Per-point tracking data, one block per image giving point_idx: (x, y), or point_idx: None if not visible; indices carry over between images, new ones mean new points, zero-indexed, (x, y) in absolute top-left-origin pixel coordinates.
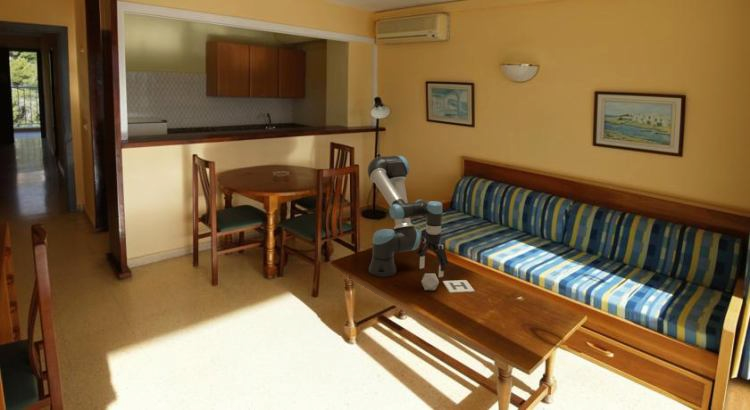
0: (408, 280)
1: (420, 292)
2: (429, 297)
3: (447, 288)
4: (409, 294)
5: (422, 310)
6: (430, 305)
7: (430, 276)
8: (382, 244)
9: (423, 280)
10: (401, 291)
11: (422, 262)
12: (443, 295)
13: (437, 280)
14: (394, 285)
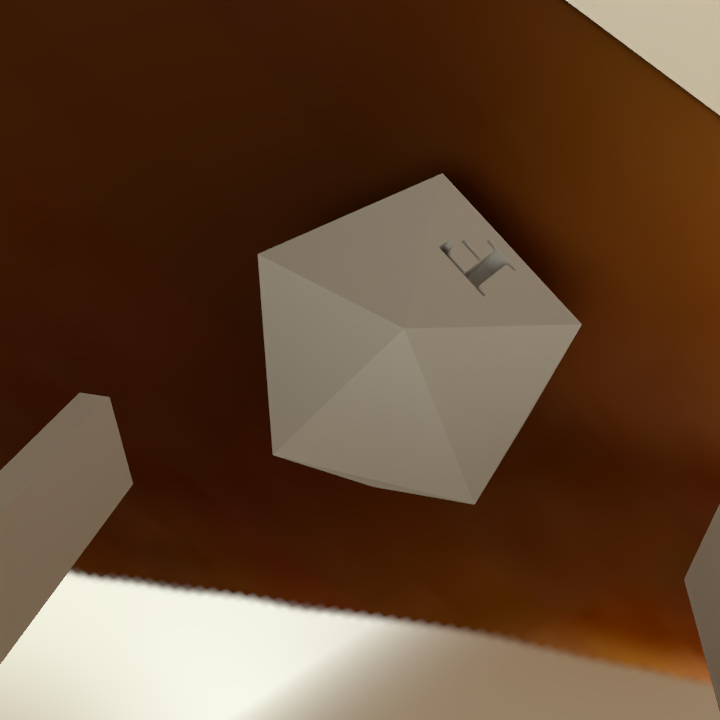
0: (70, 300)
1: None
2: (583, 462)
3: (647, 61)
4: (374, 531)
5: (696, 672)
6: None
7: (441, 491)
8: None
9: (368, 484)
10: (275, 530)
11: (36, 557)
12: (713, 303)
13: (546, 354)
14: None
